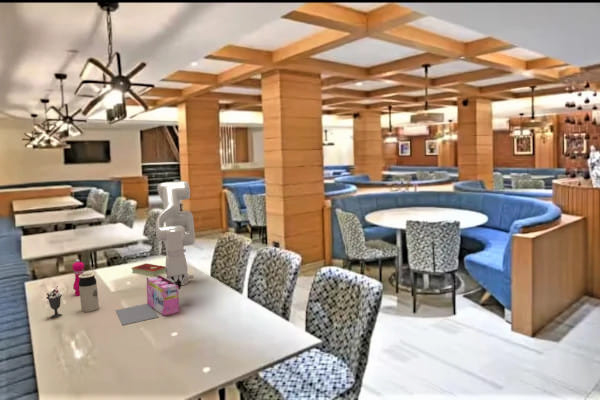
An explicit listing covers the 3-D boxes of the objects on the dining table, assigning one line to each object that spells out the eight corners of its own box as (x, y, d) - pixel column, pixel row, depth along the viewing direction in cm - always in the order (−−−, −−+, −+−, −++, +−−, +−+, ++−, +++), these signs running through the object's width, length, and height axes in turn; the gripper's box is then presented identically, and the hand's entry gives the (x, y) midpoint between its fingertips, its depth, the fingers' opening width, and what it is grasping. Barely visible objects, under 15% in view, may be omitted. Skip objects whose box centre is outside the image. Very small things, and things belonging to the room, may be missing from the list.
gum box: (145, 303, 226) (144, 277, 225) (160, 300, 231) (159, 274, 230) (164, 316, 208) (163, 288, 206) (179, 312, 213) (178, 285, 211)
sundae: (67, 314, 216) (64, 284, 214) (56, 319, 210) (52, 289, 208) (57, 313, 218) (54, 283, 216) (45, 318, 212) (42, 288, 210)
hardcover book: (146, 268, 294) (146, 262, 294) (168, 272, 283) (168, 266, 283) (131, 273, 284) (131, 267, 284) (153, 277, 273) (153, 271, 273)
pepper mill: (77, 292, 249) (73, 258, 247) (90, 291, 250) (86, 257, 247) (71, 296, 242) (68, 261, 240) (85, 295, 243) (81, 260, 240)
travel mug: (78, 311, 219) (74, 276, 217) (90, 305, 226) (87, 272, 224) (90, 313, 216) (86, 277, 214) (102, 307, 224) (99, 273, 221)
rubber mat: (148, 303, 226) (148, 303, 226) (158, 317, 207) (158, 316, 207) (115, 310, 218) (115, 310, 218) (122, 325, 199) (122, 324, 199)
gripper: (188, 249, 227) (190, 283, 229) (158, 254, 219) (161, 289, 221) (192, 252, 220) (194, 287, 222) (162, 257, 213) (165, 293, 215)
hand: (178, 288), depth 222 cm, fingers closed
